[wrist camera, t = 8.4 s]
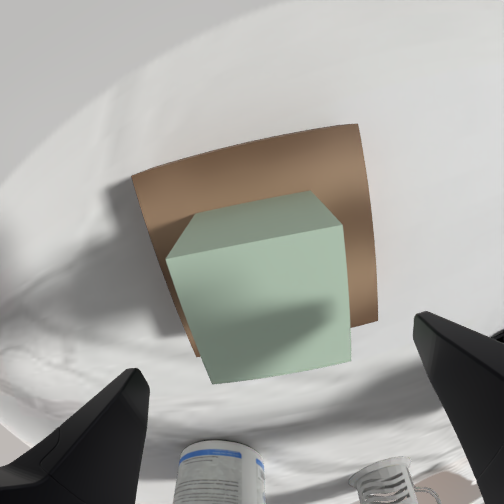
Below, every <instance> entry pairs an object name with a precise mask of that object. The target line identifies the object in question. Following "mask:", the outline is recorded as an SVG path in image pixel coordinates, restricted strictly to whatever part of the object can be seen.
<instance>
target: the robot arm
mask: <svg viewBox="0 0 504 504" xmlns="http://www.w3.org/2000/svg"><path fill="white" fill-rule="evenodd" d="M413 340H414V343H415V345H416V347H417V350H418V352H419V355H420V357H421V360H422V362H423V365H424V367H425V370H426V373H427V375H428V377H429V380H430V382H431V384H432V386H433V388H434V389H435V391H436V393H437V395H438V397H439V399H440V401H441V403H442V405H443V407H444V409H445V411H446V413H447V415H448V417H449V419H450V422H451V424H452V426H453V428H454V430H455V432H456V434H457V436H458V439H459V441H460V443H461V445H462V448H463V450H464V452H465V454H466V457H467V459H468V461H469V464H470V466H471V468H472V471H473V473H474V476H475V478H476V480H477V484H478V486H479V489H480V492H481V494H482V497H483V500H484V502H485V504H504V333H502V334H500V335H498V336H496V337H494V338H493V339H492V338H490V337H487V336H485V335H483V334H480V333H478V332H476V331H473V330H471V329H469V328H466V327H464V326H461V325H459V324H457V323H454V322H452V321H450V320H447V319H445V318H442V317H440V316H438V315H435V314H433V313H431V312H428V311H424V312H421V313H418V314H416V315H415V317H414V327H413ZM149 396H150V388H149V385H148V383H147V381H146V380H145V378H144V376H143V374H142V373H141V371H140V370H139V369H138V368H129V369H126V370H125V371H124V372H122V373H121V374H120V375H119V376H118V377H117V378H115V379H114V380H113V381H112V382H111V383H110V384H108V385H107V386H106V387H105V388H104V389H103V390H101V391H100V392H99V393H98V394H97V395H96V396H94V397H93V398H92V399H91V400H90V401H89V402H87V403H86V404H85V405H84V406H83V407H82V408H80V409H79V410H78V411H77V412H76V413H75V414H73V415H72V416H71V417H70V418H69V419H67V420H66V421H65V422H64V423H63V424H62V425H60V427H58V428H57V429H56V430H54V431H53V432H52V433H51V434H50V435H48V436H47V437H46V438H45V439H44V440H42V441H41V442H40V443H38V444H37V445H35V446H34V447H33V448H31V449H30V450H29V451H27V452H26V453H24V454H23V455H21V456H20V457H19V458H17V459H16V460H14V461H13V462H11V463H10V464H8V465H5V466H2V467H0V504H135V499H136V492H137V485H138V479H139V472H140V466H141V460H142V454H143V448H144V442H145V437H146V431H147V422H148V408H149Z"/></svg>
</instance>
